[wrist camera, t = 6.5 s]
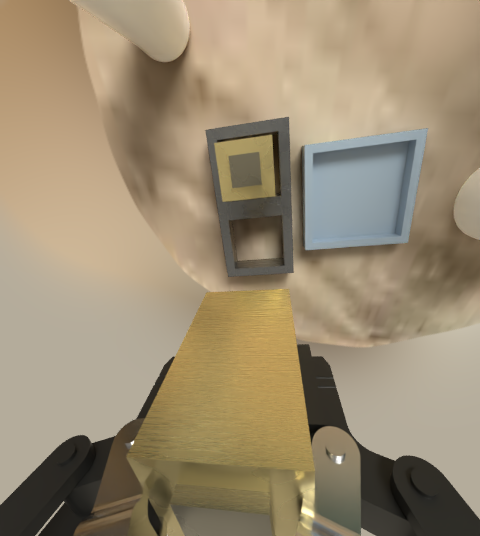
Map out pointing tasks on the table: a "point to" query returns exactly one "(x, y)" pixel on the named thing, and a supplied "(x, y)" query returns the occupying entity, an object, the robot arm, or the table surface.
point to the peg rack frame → (256, 206)
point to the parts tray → (361, 190)
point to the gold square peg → (230, 423)
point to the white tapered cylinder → (145, 23)
